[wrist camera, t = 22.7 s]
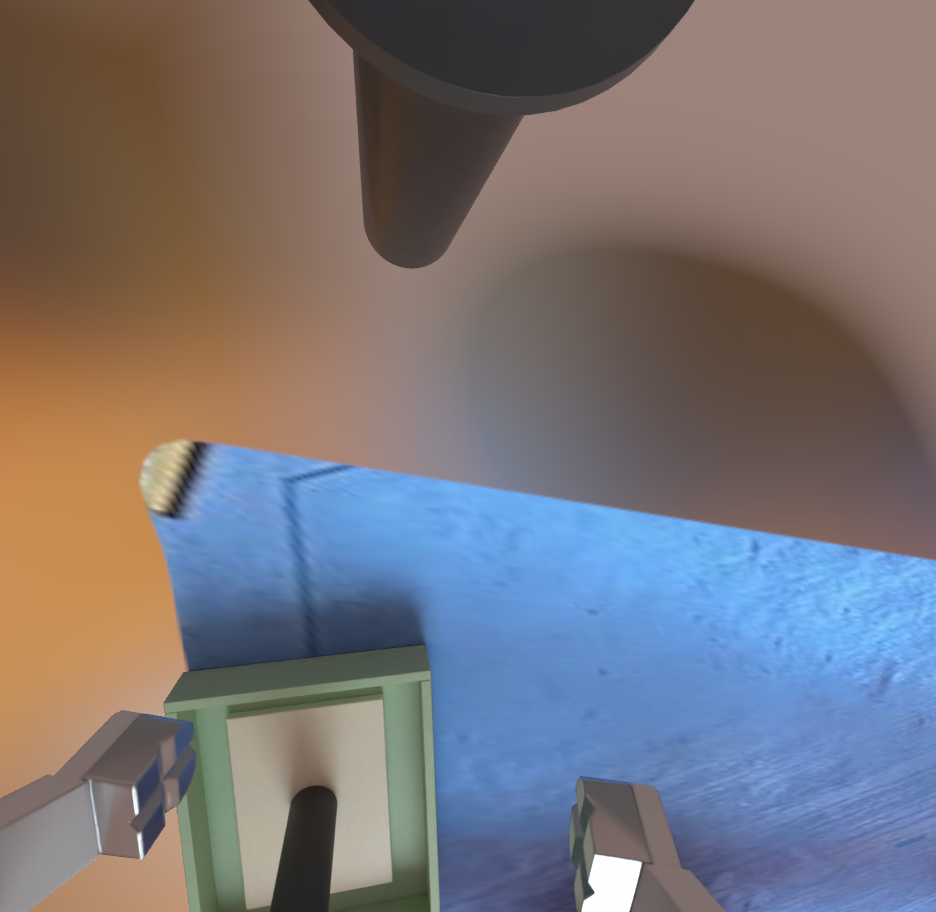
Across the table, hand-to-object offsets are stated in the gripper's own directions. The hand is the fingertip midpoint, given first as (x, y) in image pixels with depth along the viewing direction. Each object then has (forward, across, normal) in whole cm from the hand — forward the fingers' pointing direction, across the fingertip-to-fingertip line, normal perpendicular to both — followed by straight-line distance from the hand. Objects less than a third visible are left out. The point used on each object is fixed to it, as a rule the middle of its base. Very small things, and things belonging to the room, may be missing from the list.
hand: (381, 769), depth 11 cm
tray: (+16, +7, +21) cm, 27 cm away
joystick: (+16, +7, +21) cm, 27 cm away
